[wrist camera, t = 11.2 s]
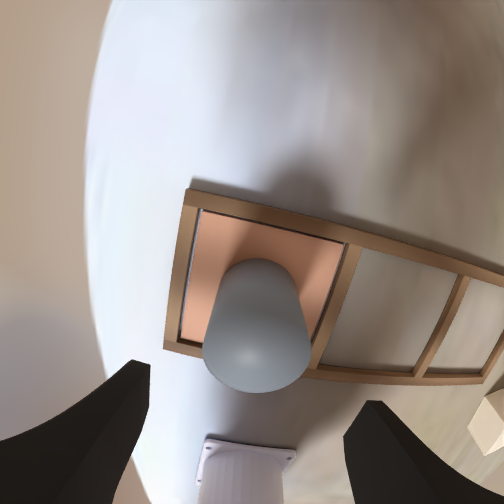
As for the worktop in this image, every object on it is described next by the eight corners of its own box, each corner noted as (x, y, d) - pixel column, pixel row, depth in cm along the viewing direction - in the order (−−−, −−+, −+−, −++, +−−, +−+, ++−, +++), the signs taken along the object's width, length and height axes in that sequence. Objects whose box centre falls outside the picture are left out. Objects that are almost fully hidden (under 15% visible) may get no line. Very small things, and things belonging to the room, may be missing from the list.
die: (495, 414, 22) (513, 441, 17) (467, 427, 22) (485, 457, 17) (512, 384, 20) (534, 410, 16) (484, 396, 21) (507, 426, 16)
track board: (479, 380, 20) (482, 383, 19) (165, 343, 18) (162, 349, 18) (528, 284, 17) (532, 286, 16) (188, 188, 15) (185, 189, 15)
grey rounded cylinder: (284, 334, 18) (292, 399, 12) (211, 319, 17) (195, 381, 12) (306, 268, 16) (327, 320, 11) (227, 249, 16) (212, 295, 11)
